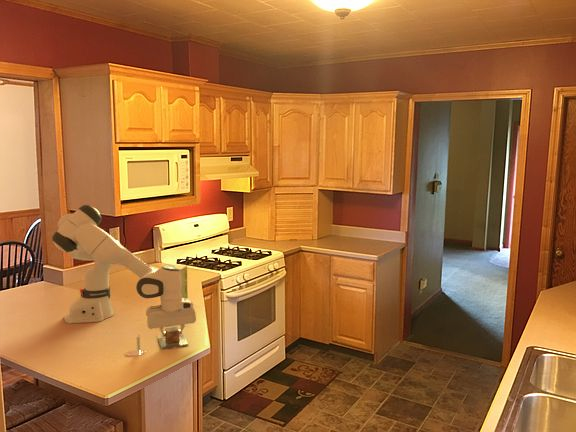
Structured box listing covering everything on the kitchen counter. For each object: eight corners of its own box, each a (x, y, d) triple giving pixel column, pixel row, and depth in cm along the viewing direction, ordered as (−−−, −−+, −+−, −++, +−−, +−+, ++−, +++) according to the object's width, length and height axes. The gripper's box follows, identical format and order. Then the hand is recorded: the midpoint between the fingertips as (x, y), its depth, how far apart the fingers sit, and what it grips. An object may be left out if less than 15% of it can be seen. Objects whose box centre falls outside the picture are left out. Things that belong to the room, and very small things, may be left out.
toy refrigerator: (183, 308, 254) (182, 269, 251) (170, 307, 256) (168, 268, 253) (189, 303, 262) (188, 265, 259) (176, 302, 264) (175, 264, 261)
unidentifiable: (125, 351, 202) (145, 350, 203) (123, 356, 197) (144, 355, 198) (124, 334, 201) (145, 332, 202) (122, 338, 196) (143, 337, 197)
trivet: (161, 349, 203) (161, 347, 203) (157, 340, 213) (157, 338, 213) (188, 345, 208) (188, 343, 208) (183, 336, 218) (183, 334, 218)
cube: (167, 343, 207) (167, 332, 206) (165, 339, 212) (165, 328, 211) (179, 341, 209) (179, 330, 208) (177, 337, 214) (177, 326, 213)
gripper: (146, 309, 201) (148, 341, 203) (196, 303, 209) (197, 334, 211) (145, 304, 207) (146, 336, 209) (193, 299, 215) (194, 329, 217)
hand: (172, 335), depth 210 cm, fingers open, 5 cm apart
